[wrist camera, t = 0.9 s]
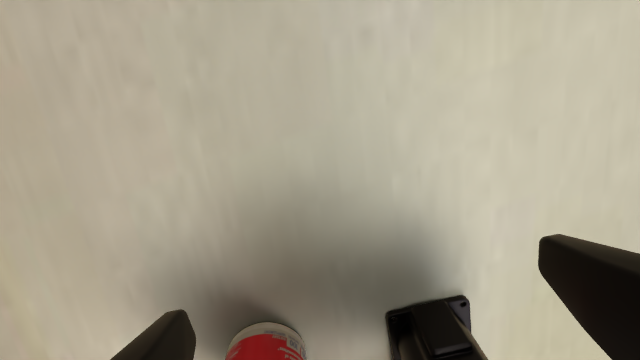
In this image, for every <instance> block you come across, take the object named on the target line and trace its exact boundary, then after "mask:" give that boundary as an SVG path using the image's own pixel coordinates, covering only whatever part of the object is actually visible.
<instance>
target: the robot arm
mask: <svg viewBox="0 0 640 360" xmlns="http://www.w3.org/2000/svg"><path fill="white" fill-rule="evenodd" d="M538 267H539V270H540V273H541V274H542V276H543V277H544V279H545V280H546V281H547V282H548V284H549V285H550V286H551V288H552V289H553V290H554V292H555V293H556V294H557V295H558V297H559V298H560V299H561V301H562V302H563V303H564V304H565V306H566V307H567V308H568V310H569V311H570V312H571V313H572V315H573V316H574V317H575V319H576V320H577V321H578V322H579V323H580V325H581V326H582V327H583V328H584V330H585V331H586V332H587V333H588V334H589V335H590V336H591V337H592V339H593V340H594V341H595V342H596V343H597V344H598V345H599V346H600V347H601V348H602V349H603V350H604V352H605V353H606V354H607V355H608V356H609V357H610V358H611V359H612V360H640V254H638V253H634V252H630V251H626V250H622V249H618V248H614V247H610V246H606V245H602V244H598V243H594V242H590V241H586V240H582V239H578V238H574V237H569V236H565V235H561V234H555V235H550V236H545V237H543V238H541V240H540V242H539V258H538ZM461 302H463V303H461ZM393 317H395V318H393ZM391 318H393V319H391ZM386 320H387V326H388V332H389V337H390V343H391V349H392V355H393V360H488V359H487V357H486V356H485V354H484V353H483V351H482V350H481V348H480V347H479V345H478V343H477V342H476V340H475V339H474V337H473V336H472V334H471V320H470V303H469V300H468V299H467V298H466V297H465V296H457V297H453V298H448V299H444V300H439V301H435V302H430V303H426V304H421V305H417V306H412V307H408V308H403V309H399V310H394V311H390V312H389V313H387V315H386ZM195 346H196V336H195V332H194V330H193V327H192V325H191V323H190V320H189V318H188V315H187V313H186V312H185V311H184V310H182V309H180V310H175V311H170V312H167V313H165V314H164V315H163V316H161V317H160V318H159V319H158V320H157V321H155V322H154V323H153V324H152V325H151V326H149V327H148V328H147V329H146V330H145V331H144V332H142V333H141V334H140V335H139V336H138V337H136V338H135V339H134V340H133V341H132V342H131V343H129V344H128V345H127V346H126V347H125V348H123V349H122V350H121V351H120V352H119V353H117V354H116V355H115V356H114V357H113V358H112V359H110V360H193V358H194V352H195Z"/></svg>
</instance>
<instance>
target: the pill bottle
mask: <svg viewBox="0 0 640 360" xmlns="http://www.w3.org/2000/svg"><path fill="white" fill-rule="evenodd" d="M225 360H307V357H306V348H305V345H304V342H303V340H302V339H301V337H300V336H299V335H298V334H297V333H296V332H295V331H294V330H292V329H290V328H289V327H287V326H284V325H281V324H277V323H271V322H263V323H257V324H254V325H251V326H249V327H247V328H245V329H243V330H242V331H240V332H239V333H238V334H237V335H236V336H235V337H234V338H233V340H232V341H231V343H230V345H229V348H228V351H227V354H226V358H225Z"/></svg>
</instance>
